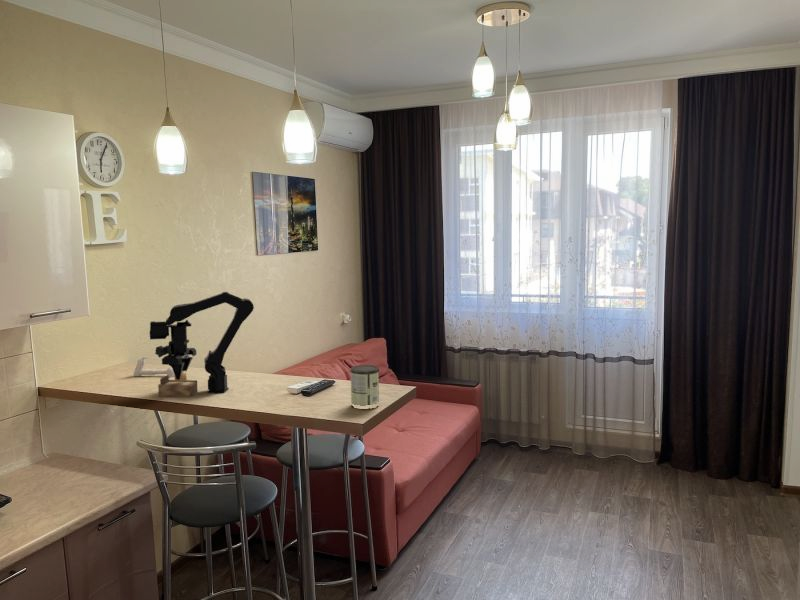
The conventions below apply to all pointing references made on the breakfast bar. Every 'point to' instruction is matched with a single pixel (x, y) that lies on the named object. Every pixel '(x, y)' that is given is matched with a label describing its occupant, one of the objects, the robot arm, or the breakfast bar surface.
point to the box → (177, 389)
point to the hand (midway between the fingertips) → (180, 377)
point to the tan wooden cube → (181, 377)
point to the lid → (166, 382)
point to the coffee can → (364, 385)
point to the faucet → (141, 371)
